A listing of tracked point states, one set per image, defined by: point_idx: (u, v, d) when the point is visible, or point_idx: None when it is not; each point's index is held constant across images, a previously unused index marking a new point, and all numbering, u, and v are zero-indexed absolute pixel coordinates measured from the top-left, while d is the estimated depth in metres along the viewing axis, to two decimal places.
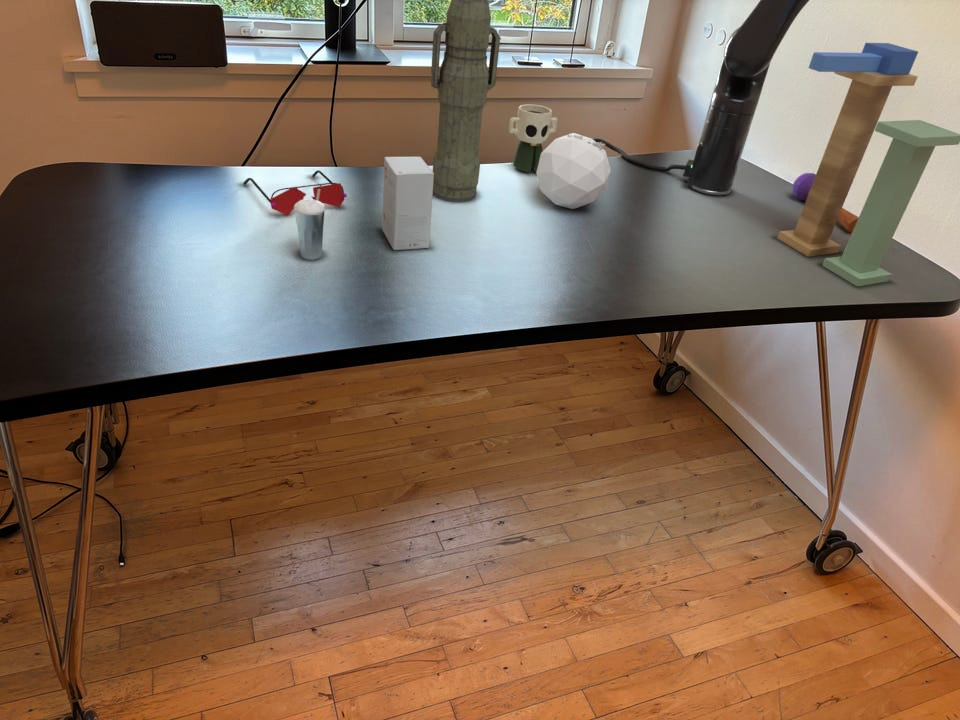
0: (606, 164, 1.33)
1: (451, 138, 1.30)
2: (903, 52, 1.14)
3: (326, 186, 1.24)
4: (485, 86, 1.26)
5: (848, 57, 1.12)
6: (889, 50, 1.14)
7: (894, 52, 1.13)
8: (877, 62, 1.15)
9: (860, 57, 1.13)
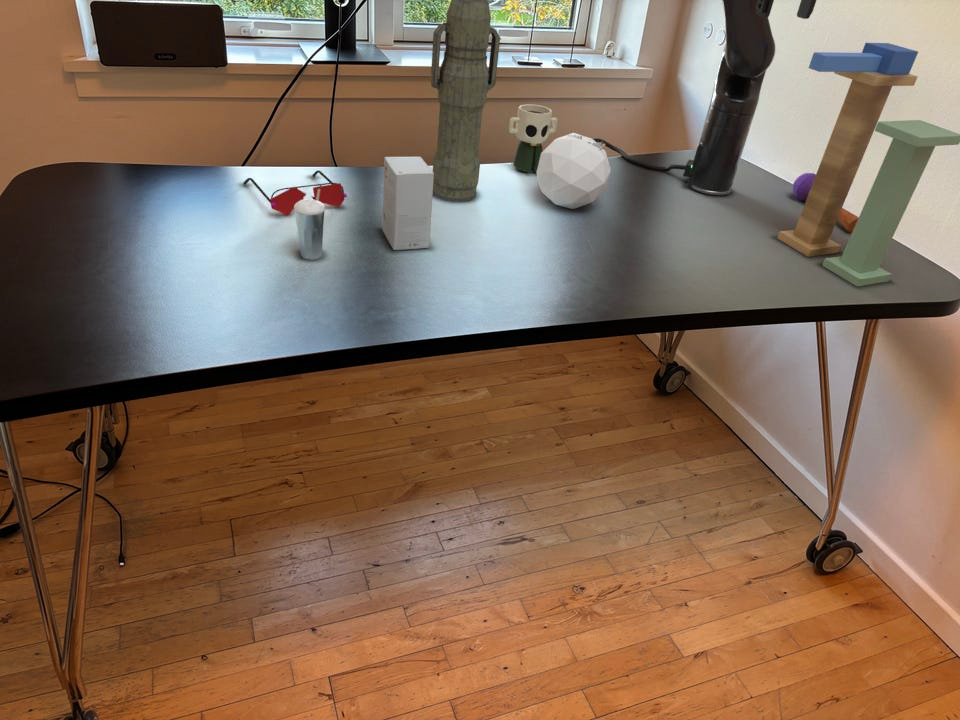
0: (606, 164, 1.33)
1: (451, 138, 1.30)
2: (903, 52, 1.14)
3: (326, 186, 1.24)
4: (485, 86, 1.26)
5: (848, 57, 1.12)
6: (889, 50, 1.14)
7: (894, 52, 1.13)
8: (877, 62, 1.15)
9: (860, 57, 1.13)
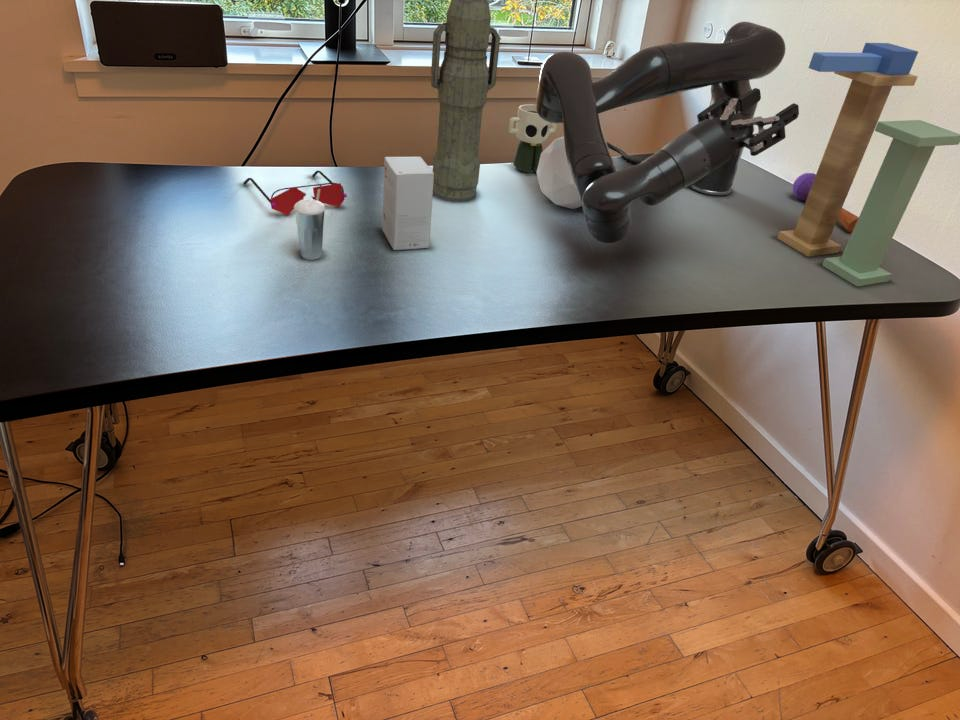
0: None
1: (451, 138, 1.30)
2: (903, 52, 1.14)
3: (326, 186, 1.24)
4: (485, 86, 1.26)
5: (848, 57, 1.12)
6: (889, 50, 1.14)
7: (894, 52, 1.13)
8: (877, 62, 1.15)
9: (860, 57, 1.13)
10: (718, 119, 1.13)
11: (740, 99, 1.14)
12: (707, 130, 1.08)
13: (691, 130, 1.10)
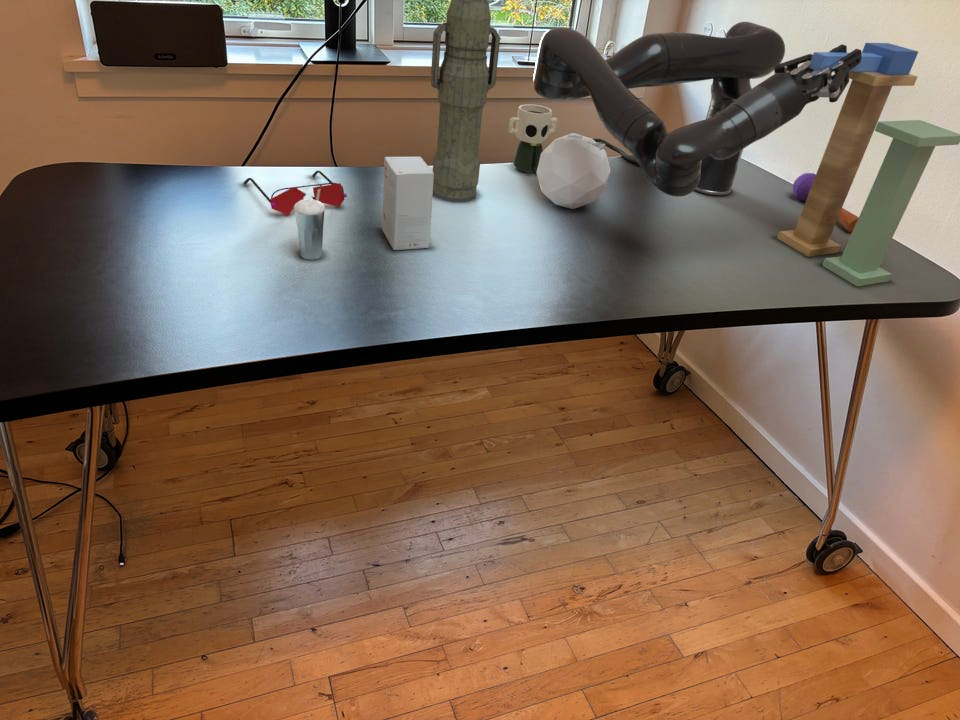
0: (606, 164, 1.33)
1: (451, 138, 1.30)
2: (903, 52, 1.14)
3: (326, 186, 1.24)
4: (485, 86, 1.26)
5: None
6: (889, 50, 1.14)
7: (894, 52, 1.13)
8: (877, 62, 1.15)
9: None
10: None
11: None
12: (779, 83, 1.09)
13: (762, 84, 1.10)
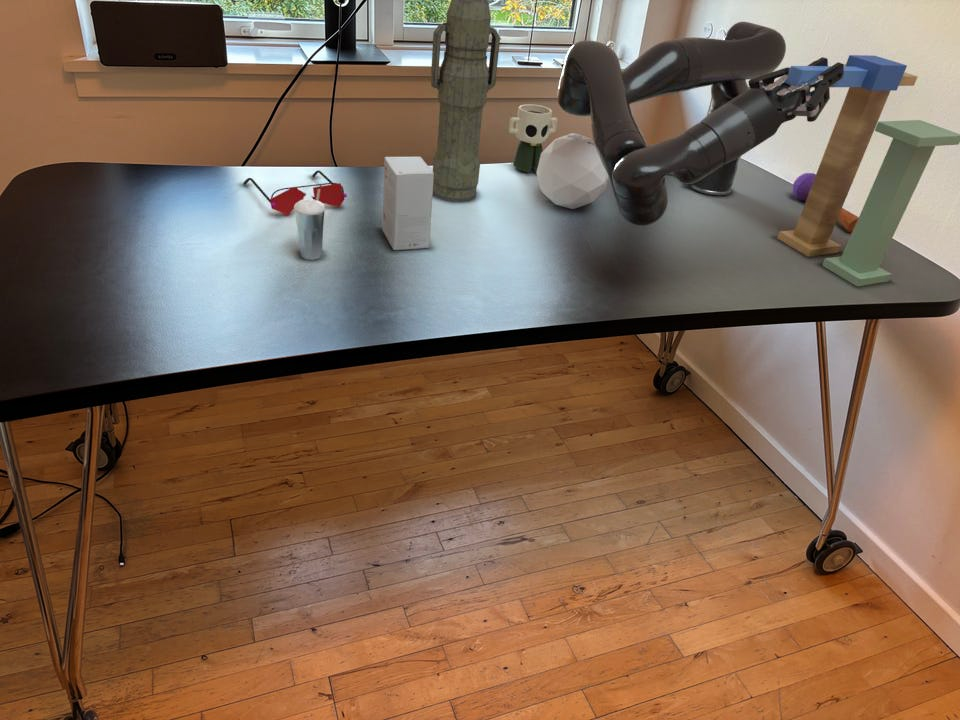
0: None
1: (451, 138, 1.30)
2: (890, 66, 1.03)
3: (326, 186, 1.24)
4: (485, 86, 1.26)
5: None
6: (875, 64, 1.03)
7: (880, 66, 1.02)
8: (861, 77, 1.04)
9: None
10: None
11: None
12: (752, 100, 0.99)
13: (733, 101, 1.00)
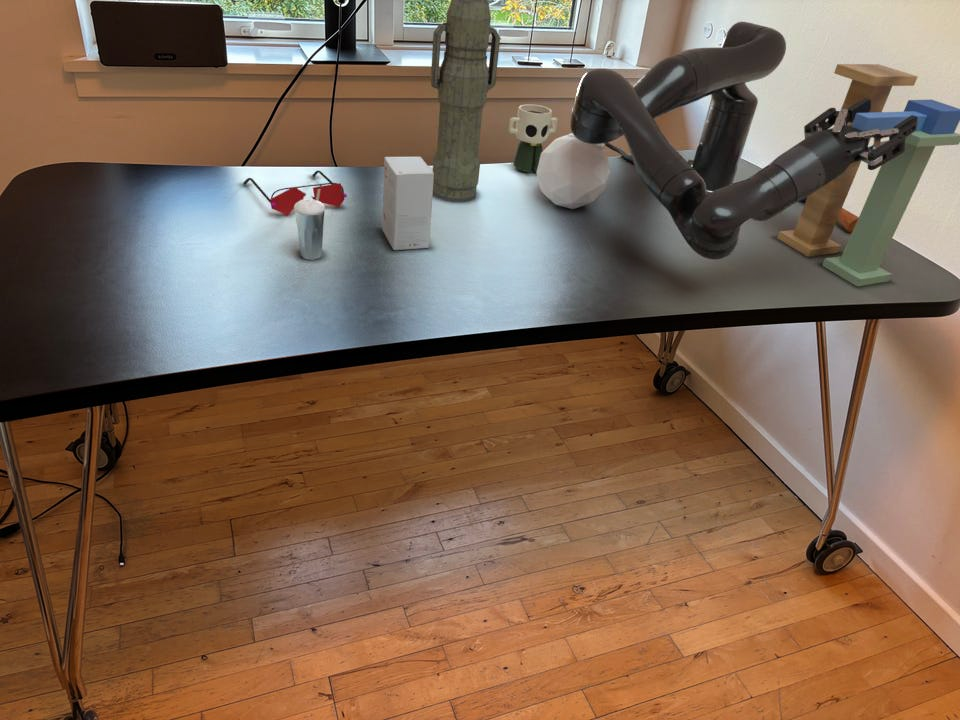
0: (606, 164, 1.33)
1: (451, 138, 1.30)
2: (949, 112, 1.08)
3: (326, 186, 1.24)
4: (485, 86, 1.26)
5: (892, 118, 1.07)
6: (934, 110, 1.08)
7: (940, 112, 1.08)
8: (921, 121, 1.10)
9: (904, 117, 1.08)
10: (829, 131, 1.08)
11: (850, 110, 1.10)
12: (823, 143, 1.04)
13: (804, 143, 1.05)
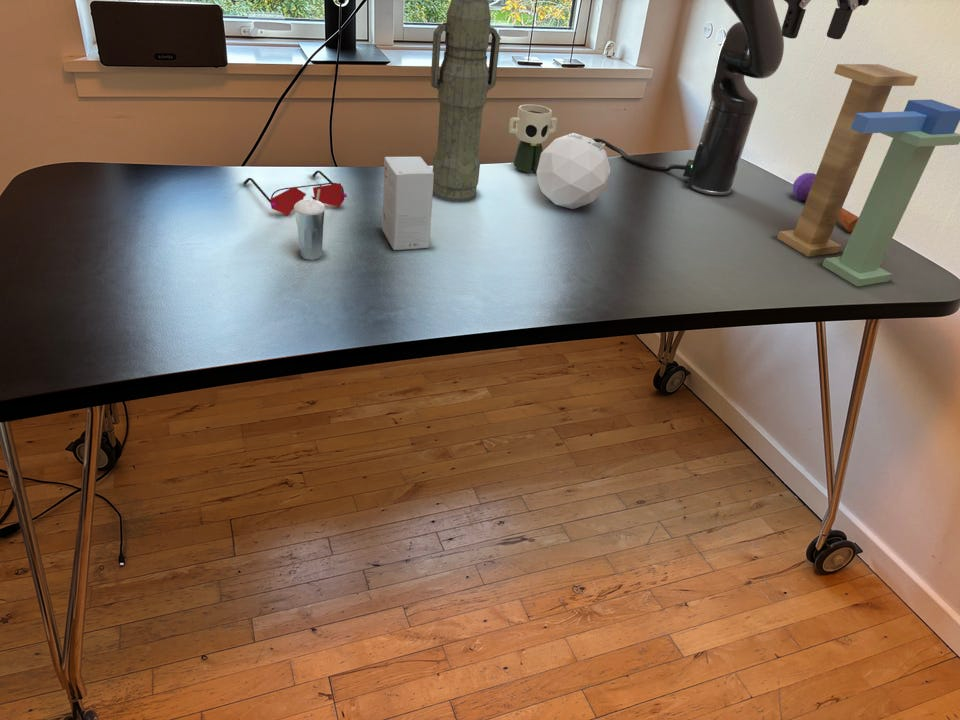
0: (606, 164, 1.33)
1: (451, 138, 1.30)
2: (949, 112, 1.08)
3: (326, 186, 1.24)
4: (485, 86, 1.26)
5: (892, 118, 1.07)
6: (934, 110, 1.08)
7: (940, 112, 1.08)
8: (921, 121, 1.10)
9: (904, 117, 1.08)
10: None
11: None
12: None
13: None
